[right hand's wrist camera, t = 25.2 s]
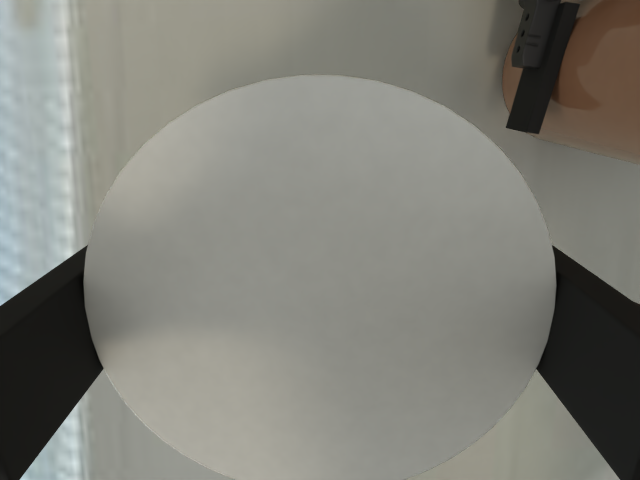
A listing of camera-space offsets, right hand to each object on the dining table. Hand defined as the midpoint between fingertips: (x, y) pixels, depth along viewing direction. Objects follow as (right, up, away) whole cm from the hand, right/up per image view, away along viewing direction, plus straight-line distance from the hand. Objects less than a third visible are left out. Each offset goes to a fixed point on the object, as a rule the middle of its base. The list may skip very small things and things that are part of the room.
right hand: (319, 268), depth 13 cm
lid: (0, -1, -3) cm, 3 cm away
